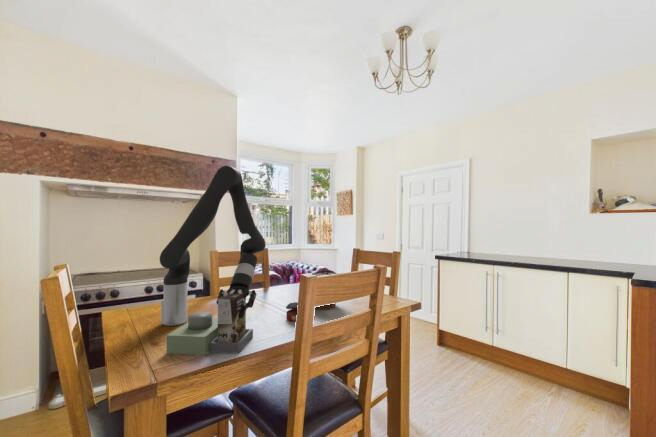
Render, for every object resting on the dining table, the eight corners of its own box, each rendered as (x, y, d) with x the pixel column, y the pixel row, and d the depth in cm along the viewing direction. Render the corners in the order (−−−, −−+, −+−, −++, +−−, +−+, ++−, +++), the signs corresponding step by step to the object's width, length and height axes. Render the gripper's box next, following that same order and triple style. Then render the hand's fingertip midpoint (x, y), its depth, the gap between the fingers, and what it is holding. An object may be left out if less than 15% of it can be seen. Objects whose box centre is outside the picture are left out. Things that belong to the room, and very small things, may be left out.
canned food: (286, 330, 127) (277, 309, 129) (300, 321, 136) (292, 301, 138) (302, 323, 121) (293, 301, 123) (316, 314, 130) (307, 294, 132)
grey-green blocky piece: (166, 353, 95) (166, 323, 95) (196, 332, 113) (196, 307, 113) (235, 356, 93) (236, 325, 93) (254, 334, 111) (254, 308, 111)
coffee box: (233, 346, 97) (233, 299, 97) (216, 344, 99) (216, 298, 99) (246, 335, 106) (246, 292, 106) (230, 334, 108) (230, 291, 108)
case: (313, 314, 134) (314, 276, 134) (300, 303, 152) (300, 270, 153) (347, 310, 141) (347, 274, 141) (330, 300, 159) (331, 268, 160)
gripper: (222, 271, 111) (207, 311, 99) (258, 272, 109) (247, 312, 98) (228, 282, 116) (214, 321, 104) (262, 283, 115) (252, 322, 103)
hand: (230, 317), depth 101 cm, fingers closed on coffee box, 7 cm apart
